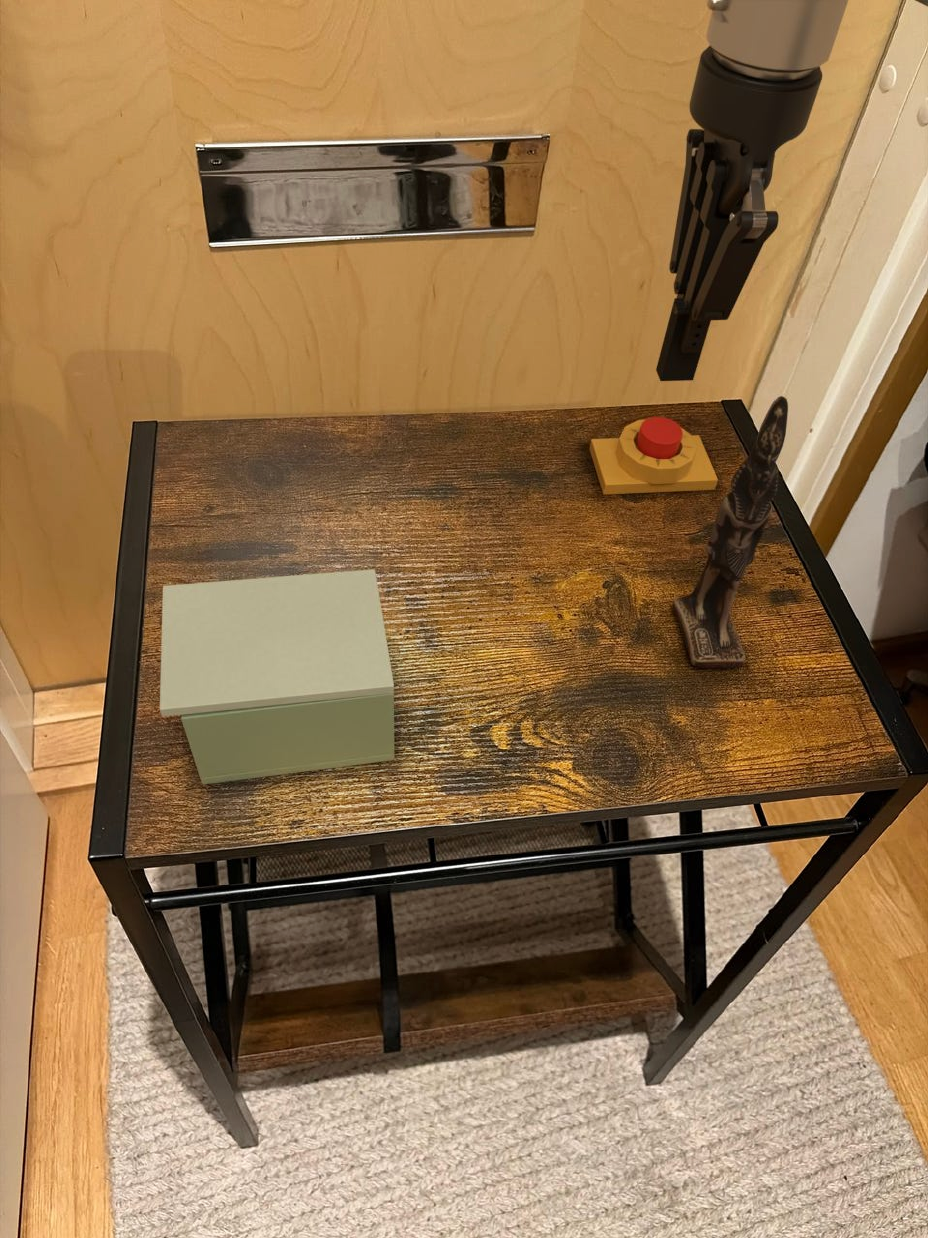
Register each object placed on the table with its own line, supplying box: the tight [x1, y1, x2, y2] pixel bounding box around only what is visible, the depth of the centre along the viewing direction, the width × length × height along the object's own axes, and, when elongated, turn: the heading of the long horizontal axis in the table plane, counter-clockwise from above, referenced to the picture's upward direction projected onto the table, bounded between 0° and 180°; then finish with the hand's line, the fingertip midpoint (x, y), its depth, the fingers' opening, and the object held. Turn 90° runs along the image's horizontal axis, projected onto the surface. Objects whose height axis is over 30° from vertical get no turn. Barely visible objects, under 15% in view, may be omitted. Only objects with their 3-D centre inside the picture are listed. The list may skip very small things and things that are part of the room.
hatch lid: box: [159, 568, 395, 718], centre depth 59 cm, size 14×10×1 cm
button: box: [637, 416, 683, 459], centre depth 81 cm, size 4×4×2 cm
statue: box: [672, 395, 789, 669], centre depth 64 cm, size 4×7×20 cm, turn 6°
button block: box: [588, 418, 719, 496], centre depth 82 cm, size 10×6×3 cm, turn 97°
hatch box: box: [180, 692, 395, 785], centre depth 62 cm, size 13×10×8 cm
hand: (674, 374), depth 76 cm, fingers closed
